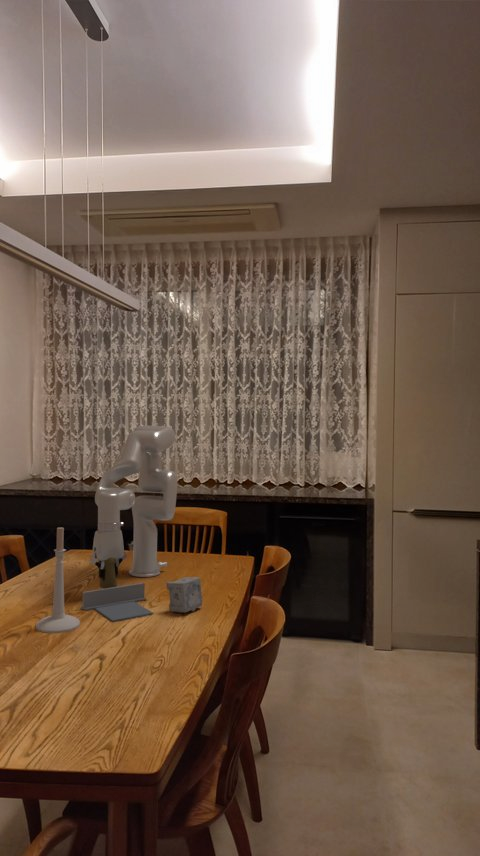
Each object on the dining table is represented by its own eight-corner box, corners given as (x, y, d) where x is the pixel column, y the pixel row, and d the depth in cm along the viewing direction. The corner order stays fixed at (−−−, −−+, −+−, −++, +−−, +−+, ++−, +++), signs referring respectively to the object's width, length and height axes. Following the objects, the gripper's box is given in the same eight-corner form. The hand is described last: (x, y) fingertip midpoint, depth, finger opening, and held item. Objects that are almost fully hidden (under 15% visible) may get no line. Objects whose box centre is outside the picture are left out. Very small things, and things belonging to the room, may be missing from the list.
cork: (119, 583, 213) (119, 553, 213) (114, 589, 207) (114, 557, 207) (102, 582, 214) (103, 552, 213) (97, 588, 208) (97, 556, 207)
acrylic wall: (140, 597, 210) (141, 581, 210) (146, 600, 207) (146, 584, 207) (80, 607, 197) (81, 590, 197) (85, 611, 194) (85, 593, 194)
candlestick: (88, 621, 184) (90, 524, 184) (63, 635, 172) (65, 531, 172) (53, 616, 188) (55, 521, 188) (26, 629, 176) (28, 528, 176)
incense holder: (183, 604, 205) (184, 573, 204) (203, 608, 200) (203, 577, 200) (165, 611, 196) (165, 579, 196) (185, 616, 192) (186, 584, 192)
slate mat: (133, 603, 204) (133, 601, 204) (153, 614, 192) (153, 612, 192) (94, 609, 195) (94, 608, 195) (112, 622, 184) (112, 620, 184)
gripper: (125, 522, 218) (125, 572, 218) (82, 527, 208) (81, 579, 209) (135, 526, 212) (134, 577, 212) (90, 531, 202) (89, 585, 203)
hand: (108, 578), depth 210 cm, fingers closed on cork, 3 cm apart
